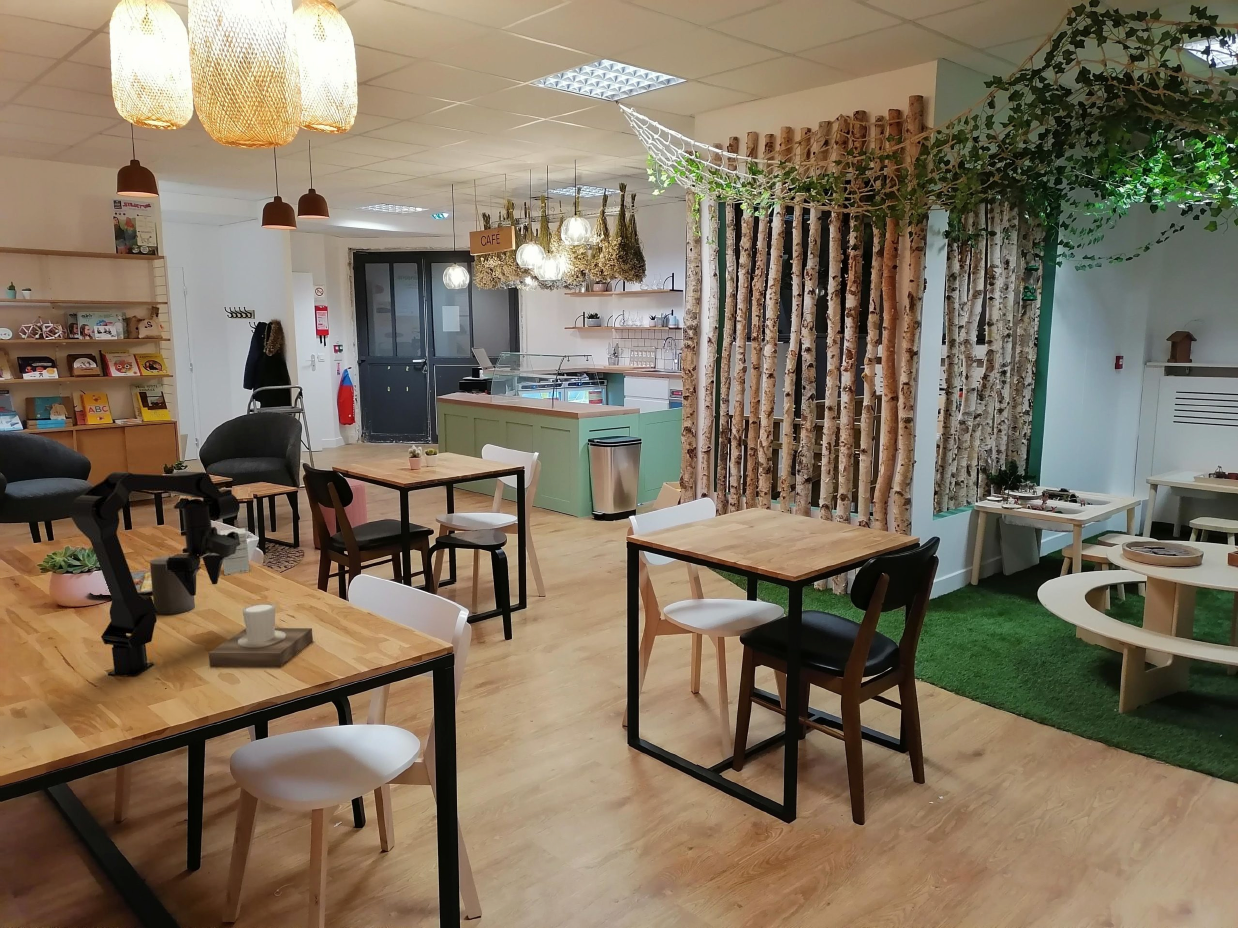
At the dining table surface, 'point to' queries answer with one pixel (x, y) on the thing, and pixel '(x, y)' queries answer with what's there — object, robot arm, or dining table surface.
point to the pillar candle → (168, 590)
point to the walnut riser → (261, 648)
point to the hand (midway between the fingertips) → (204, 589)
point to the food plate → (142, 581)
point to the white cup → (260, 622)
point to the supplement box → (237, 554)
